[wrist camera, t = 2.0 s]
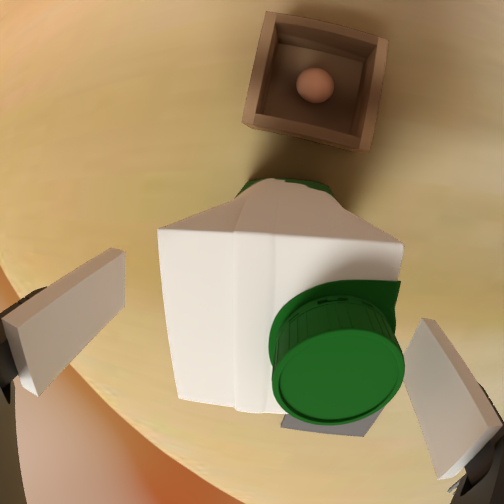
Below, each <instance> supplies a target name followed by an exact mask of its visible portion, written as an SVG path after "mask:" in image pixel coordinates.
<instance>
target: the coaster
mask: <svg viewBox="0 0 504 504" xmlns="http://www.w3.org/2000/svg"><path fill="white" fill-rule="evenodd" d="M384 407H385V406H384ZM384 407H383V408H384ZM383 408H381V409H380V410H379V411H377V412H375V413H374V414H372V415H370V416H368V417H366V418H364V419H361V420H359V421H356V422H352V423H348V424H343V425H334V426H323V425H315V424H310V423H306V422H303V421H301V420H298V419H296V418H294V417H292V416H291V415H289V414H285V416H284V418H283V421H282V423H281V427H282V428H288V429H295V430H302V431H309V432H317V433H326V434H336V435H347V436H362V437H364V435H365V434H366V433H367V431H368V430H369V429H370V427H371V426H372V424H373V423H374V422H375V420H376V419H377V417H378V416H379V414H380V413H381V411H382V410H383Z"/></svg>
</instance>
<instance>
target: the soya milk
mask: <svg viewBox="0 0 504 504" xmlns="http://www.w3.org/2000/svg"><path fill="white" fill-rule="evenodd" d="M157 232H158V247H159V260H160V271H161V281H162V291H163V300H164V308H165V317H166V324H167V332H168V339H169V345H170V352H171V358H172V365H173V371H174V376H175V382H176V388H177V393H178V398H180V399H185V400H190V401H196V402H202V403H208V404H215V405H222V406H229V407H235V410H237V411H241V412H249V413H278V414H289V415H291V416H292V417H294V418H296V419H298V420H301V421H303V422H306V423H310V424H315V425H323V426H334V425H343V424H348V423H352V422H356V421H359V420H361V419H364V418H366V417H368V416H370V415H372V414H374V413H375V412H377V411H379V410H380V409H381V408H383V407H384V406H385V405H386V404H387V403H388V402H389V401H390V400H391V399H392V398H393V397H394V396H395V394H396V393H397V391H398V390H399V388H400V386H401V384H402V381H403V378H404V374H405V362H404V356H403V354H402V350H401V348H400V346H399V344H398V341H397V339H396V337H395V329H396V318H395V305H396V301H397V297H398V293H399V288H400V284H401V281H398V276H399V271H400V267H401V262H402V257H403V251H404V243H403V242H401V241H399V240H398V239H396V238H394V237H393V236H391V235H389V234H388V233H386V232H384V231H382V230H381V229H379V228H377V227H375V226H374V225H372V224H370V223H369V222H367V221H365V220H363V219H362V218H360V217H358V216H356V215H355V214H353V213H351V212H349V211H347V210H346V209H344V208H343V207H342V206H341V205H340V204H339V203H338V202H337V201H336V199H335V198H334V196H333V194H332V192H331V190H330V188H329V187H328V186H326V185H324V184H321V183H318V182H314V181H307V180H298V179H286V178H264V179H259V180H254V181H249V182H247V183H246V184H245V185H244V187H243V188H242V189H241V191H240V192H239V193H238V195H237V196H236V197H235V199H233V200H232V201H230V202H228V203H225V204H222V205H220V206H217V207H214V208H212V209H209V210H206V211H204V212H201V213H199V214H196V215H193V216H191V217H188V218H185V219H183V220H180V221H178V222H175V223H173V224H170V225H167V226H165V227H161V228H159V229H158V230H157Z"/></svg>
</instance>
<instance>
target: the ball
mask: <svg viewBox="0 0 504 504" xmlns="http://www.w3.org/2000/svg"><path fill="white" fill-rule="evenodd" d="M296 87H297V91H298V93H299V94H300V96H301V97H302V98H303V99H305V100H306V101H308V102H311V103H322V102H324V101H326V100H328V99H329V98H330V97H331V95H332V94H333V91H334V82H333V79H332V77H331V76H330V75H329V74H328V73H327V72H326V71H324V70H322V69H320V68H309V69H306V70H304V71H303V72H302V73H301V74H300V75H299V76H298V78H297V82H296Z"/></svg>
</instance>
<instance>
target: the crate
mask: <svg viewBox="0 0 504 504" xmlns="http://www.w3.org/2000/svg"><path fill="white" fill-rule="evenodd" d="M388 43H389V40H387V39H384V38H381V37H378V36H375V35H372V34H369V33H366V32H362V31H359V30H355V29H352V28H348V27H345V26H341V25H337V24H333V23H329V22H324V21H320V20H315V19H310V18H305V17H300V16H294V15H288V14H281V13H274V12H267V11H266V14H265V18H264V22H263V26H262V30H261V35H260V39H259V43H258V48H257V52H256V56H255V61H254V65H253V70H252V74H251V79H250V84H249V88H248V93H247V98H246V103H245V107H244V112H243V117H242V123H243V124H245V125H247V126H248V127H250V128H252V129H257V130H263V131H268V132H273V133H278V134H283V135H287V136H292V137H297V138H301V139H305V140H310V141H314V142H318V143H322V144H326V145H330V146H334V147H337V148H341V149H345V150H348V151H352V152H370V148H371V144H372V139H373V134H374V129H375V124H376V119H377V114H378V108H379V103H380V97H381V91H382V85H383V79H384V72H385V65H386V58H387V51H388ZM309 68H320V69H322V70H324V71H326V72H327V73H328V74H329V75H330V76H331V77H332V79H333V82H334V91H333V94H332V95H331V97H330V98H329V99H328V100H326V101H324V102H322V103H311V102H308V101H306V100H305V99H303V98H302V97H301V96H300V94H299V93H298V91H297V87H296V82H297V78H298V76H299V75H300V74H301V73H302V72H303V71H304V70H306V69H309Z"/></svg>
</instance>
